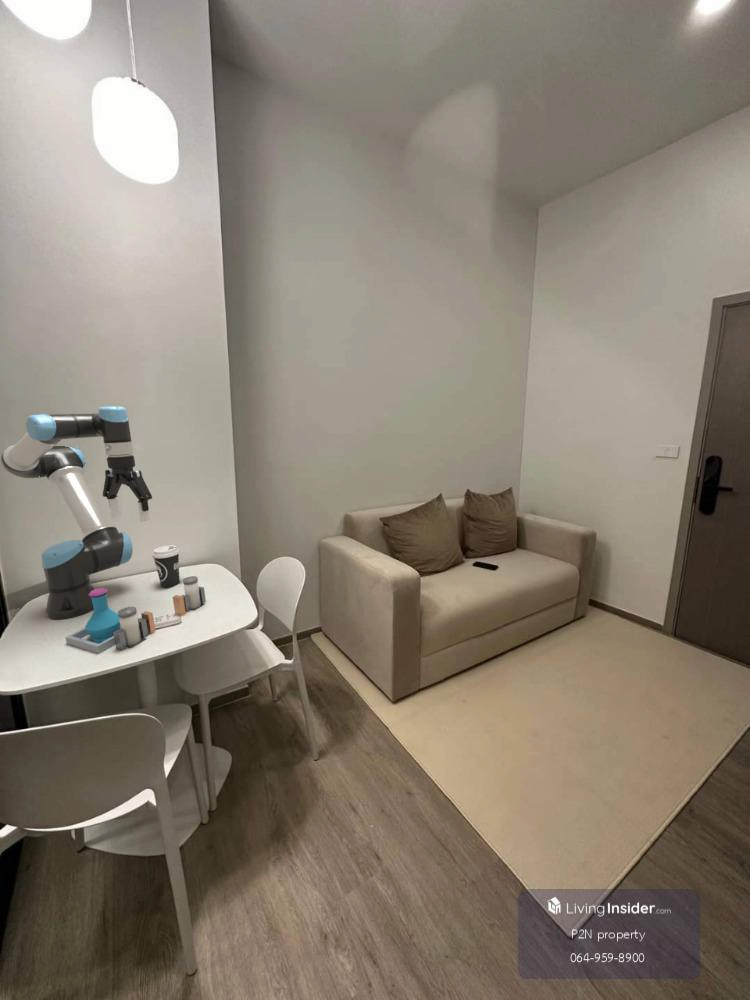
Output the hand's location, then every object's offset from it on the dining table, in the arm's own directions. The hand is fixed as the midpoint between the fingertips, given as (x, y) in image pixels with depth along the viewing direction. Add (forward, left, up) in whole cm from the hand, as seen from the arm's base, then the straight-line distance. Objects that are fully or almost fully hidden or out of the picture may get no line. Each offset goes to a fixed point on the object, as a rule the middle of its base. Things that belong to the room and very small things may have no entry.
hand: (130, 519), depth 133 cm
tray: (+7, -19, -32) cm, 38 cm away
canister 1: (+18, -18, -31) cm, 40 cm away
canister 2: (+18, +5, -31) cm, 36 cm away
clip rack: (+18, -7, -32) cm, 37 cm away
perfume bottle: (+7, -19, -31) cm, 37 cm away
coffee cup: (-6, +16, -32) cm, 36 cm away
